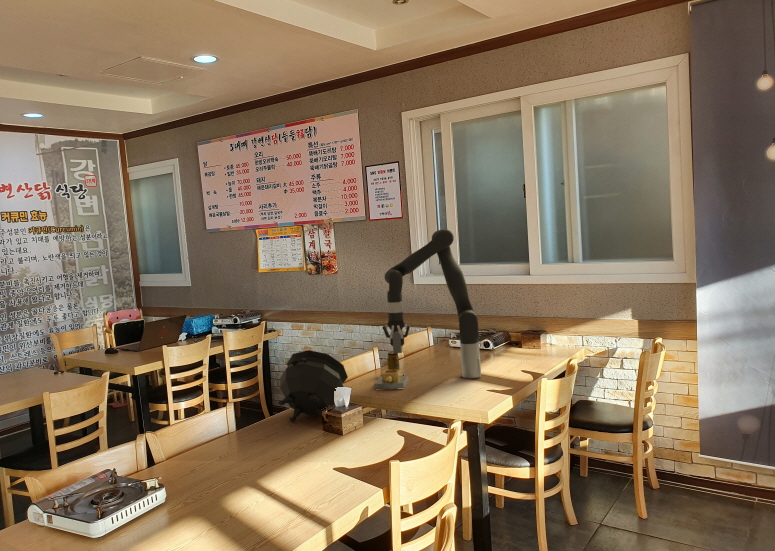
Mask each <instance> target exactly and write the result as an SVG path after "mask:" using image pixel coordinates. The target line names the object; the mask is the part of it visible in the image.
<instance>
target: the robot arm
mask: <svg viewBox="0 0 775 551" xmlns="http://www.w3.org/2000/svg"><path fill="white" fill-rule="evenodd" d="M454 237H455V236H454V234H453V232H452V231H451V230H449V229H448V228H447V229H446V228H442V229H438V230H435V231H434V232H433V233H432V235H431V240H430V241H429V242H428V243H427V244H424V245H423V246H422V247H421V248H419V249H417V250H416V251H413V253H411V254H410V255H408V256H407V257H406V258H404V259H403V260H402V261H401V262H399V263H398V264H396V265H394V266H392V267H391V268H390V269H388V270H387V271H386V272H385V274H384V281H385V282H386V283H387V284H388V291H387V293H386V295H387V296H386V298H387V310H386V311H387V320H388V321H387V324H385V325H383V326H382V329H383V333H384V335H385V337H386V338H388V339H389V341H390V342H389V344H390V346H391V347H393V338H392V334H393V332H399V334H401V346H402V347H403V346H404V345H405V338H407V337H408V335H409V332H410V329H411V324H407V323H406V322H405V319H404V316H405V315H404V305H403V304H404V303H403V294H402V291H403V283H404V282H403V280H404V278H403V277H404V276H406V275H409V274H411V273H413V272H414V271H415V270H416V269H417V268H419V267H420V266H421V265H423V264H424V263H425V262H426V261H428V260H429V259H430V258H431V257H433V256H434V255H437V258H438V260H439V262H440V268H441V270H442V273H443V277H444V280H445V284H446V286H447V288H448V291H449V294H450V296H451V297H452V299H453V301H454V304H455V307H456V312H457V318H458V325H459V326H458V328H459V329H458V331H459V347H460V359H461V360H460V361H461V374H462V377H463V378H464V379H478V378H481V376H482V367H481V366H482V365H481V356H480V355H481V354H480V342H479V341H480V338H479V336H480V335H479V320H478V315H477V313H476V312H475V310H474V308H473V306H472V304H471V301H470V297H469V293H468V286H467V282H466V278H465V276H464V273H463V271H462V268H461V266H460V265H459V263H458V262H457V261H456V259H455V257H454V255H453V252H452V248H451V245H452V244H453V243H454V239H455V238H454ZM404 328H405V333H404V330H403V329H404ZM388 329H390V333H389V331H388Z"/></svg>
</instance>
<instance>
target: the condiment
mask: <svg viewBox="0 0 775 551" xmlns="http://www.w3.org/2000/svg"><path fill="white" fill-rule="evenodd" d="M400 367H401V366H400V358H399V353H393V351H390V352H388V353H387V370H400V371H401V369H400ZM401 374H402V375H403V374H404V373H401ZM404 375H406V374H404Z"/></svg>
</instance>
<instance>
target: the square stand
mask: <svg viewBox="0 0 775 551" xmlns="http://www.w3.org/2000/svg"><path fill="white" fill-rule="evenodd" d="M401 374H402V373H401V369H400V370H388V369H383V371H382V372H381V375H380V376H379V377H378V379H377V380H376V381H375V382H374V390H375V389H397V390H399V389H398V388H404V387H405V388H406V386H407V385H406V384H408V383H409V375H406V374H405V375H404V376H401ZM407 382H408V383H407ZM405 385H406V386H405ZM405 388H404V389H405Z"/></svg>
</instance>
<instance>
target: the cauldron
mask: <svg viewBox="0 0 775 551" xmlns="http://www.w3.org/2000/svg"><path fill="white" fill-rule="evenodd" d="M286 365H287V367H285V370H284V371H283V373H282V375H281V376H280V381H279V388H280V391H281V393H282V395H283V397H284V398H283V399H282V400H278V401H277V402H278V403H277V404H278V405H280V406H284V405H286V404H288V406H289V407H290V408H291V409H293V410H294V411H293V412H292V413H293V414H292V416H290V417H288V418H289V419H288V420H289V421H290V422H291V423H294V422H296V421H297V418H298V417H299V416H300V415H301V414H303V415H307V416H311V417H314V416H318V415H319V416H321V417H322V411H323V410H324V409H326V408H325V407H327V408H328V406H329V405H330V406H333V405H334V391H336V389H335V388H337V387H344V384H345V383H346V381H347V380H348V378H349V376H348V373H347V372H346V368H345V365H344V364H343V363H341V362H340V361H339V360H337V359H336V358H334V357H333V356H331V355H330V354H328V353H325V352H319V351H315V350H310V349H307V350H304V351H300V352H296V353H292V354H291V355H290V358H289V359H288V361H287V363H286ZM344 388H345V387H344ZM330 406H329V407H330ZM323 408H324V409H323ZM321 409H323V410H321Z"/></svg>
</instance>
